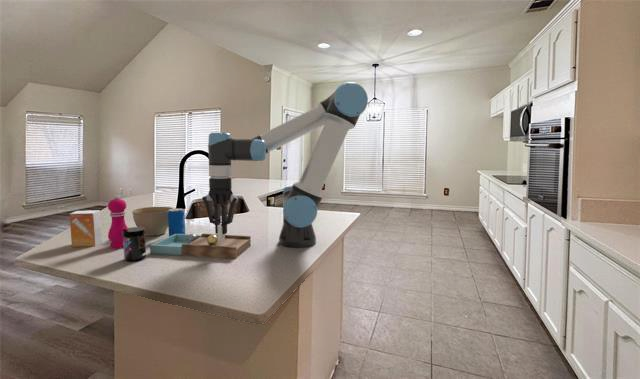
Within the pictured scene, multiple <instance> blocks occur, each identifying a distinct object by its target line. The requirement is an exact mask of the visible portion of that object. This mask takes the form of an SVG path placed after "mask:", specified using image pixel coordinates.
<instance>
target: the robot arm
mask: <svg viewBox="0 0 640 379" xmlns="http://www.w3.org/2000/svg"><path fill="white" fill-rule="evenodd" d="M368 102H369V98H368V93H367V92H366V90H365V88H364V87H363V86H362V85H360V84H359V83H356V82H352V81H348V82H343V83H342V84H340V85H339V86H337V88H336V89H335V91H334V92H333V93H332V94H330V96H328V97H327V98H326V99H323V100H322V101H320V102H318V104H317V106H316V107H314V108H312V109H309V110H308V111H306V112H303V113H302V114H299V115H298V116H295V117H294V118H291V119H290V120H287V121H285V122H283V123H282V124H279V125H277V126H276V127H273V128H271V129H269V130H267V131H265V132H263V133H260V134H259V135H257V136H255V137H253V138H251V139H249V138H243V139H242V138H240V139H239V138H237V139H236V138H232V135H231V133H229V132H210V133H209V134H208V145H207V147H208V148H207V151H208V176H209V177H210V178H209V179H208V187H209V191H208V194H206V195H205V196H202V197H201V198H202V201H203V202H204V204H205V209H206V213H207V216H208V221H209V223H210V224H212V225H214V229H215V230H214V231H215V232H214V234H218V244H222V243H224V242H225V235H227V233H228V225H230V224H231V223H233V220H234V215H235V211H236V207H237V203H238V202H239V200H240V198H239V197H238V196H235V195H234V193H233V191H232V178H231V177H232V161H234V162H235V161H240V162H241V161H244V162H245V161H246V162H263V161H265V160H266V158H267V156H266V155H267V154H269V153H271V152H273V151H275V150H276V149H278V148H281V147H282V146H285V145H286V144H289V143H292V142H293V141H294V140H297V139H299V138H301V137H303V136H305V135H307V134H309V133H311V132H314V131H315V130H317V129H319V128H321V127H323V128H322V130H321V133H320V135H319V136H318V139H317V141H316V143H315V145H314V147H313V150H312V152H311V155H310V157H309V159H308V160H307V163H306V166H305V168H304V169H303V172H302V174H301V177H300V179H299V180H298V181H297V182H294V183H293V184H292V186H285V187H284V188H283V192H282V197H283V198H282V201H283V203H282V206H283V207H282V208H283V209H282V213H283V214H282V215H283V216H282V221H283V223H282V227H281V230H280V234H279V235H278V236H279V237H278V243H279V244H280V245H281V246H284V247H288V248H289V247H290V248H307V247H310V246H314V245H315V244H316V242H317V236H316V233H315V230H314V227H313V223H314V221H315V220H316V218H317V216H318V208H319V206H320V204H321V202H322V199H323V197H324V196H323V193H322V189H323V187H324V185H325V182H326V180H327V178H328V177H329V174H330V172H331V169H332V168H333V164H334V163H335V161H336V158H337V156H338V154H339V152H340V150H341V148H342V145H343V143H344V141H345V139H346V137H347V134H348V132H349V131H350V130H352V129H355V127H356V124H358V121H359V119H360V117H361V115H362V114H363V113H364V112H365V110H366V109H367V107H368ZM229 201H230V205H229V209H228V204H229ZM212 202H213V203H212Z"/></svg>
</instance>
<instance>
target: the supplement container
mask: <svg viewBox="0 0 640 379" xmlns="http://www.w3.org/2000/svg"><path fill="white" fill-rule="evenodd" d="M122 235H123V248H122V249H123V260H124V261H125V262H129V263H132V262H139V261H143V260H144V259H146V258H147V247H146V246H147V243H146V242H147V241H146V236H145V228H144V227H137V226H136V227H135V226H134V227H133V226H132V227H128V228H126V229H123V230H122Z"/></svg>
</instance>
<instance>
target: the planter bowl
mask: <svg viewBox="0 0 640 379" xmlns="http://www.w3.org/2000/svg"><path fill="white" fill-rule="evenodd" d="M169 209H174V208H173V207H171V206H149V207H140V208H136V209H133V210H131V213H132V216H133V217H132V219H133V222H134V223H135V226H136V227H144V228H145V237H147V236H148V237H151V236H154V237H155V236H160V235H164V234H166V233H167V229H169V227H168V212H169Z"/></svg>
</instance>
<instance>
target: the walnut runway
mask: <svg viewBox="0 0 640 379" xmlns="http://www.w3.org/2000/svg"><path fill="white" fill-rule="evenodd" d="M201 235H202V237H200V238H198V239H196V240H194V241H192V242H191V243H189V244H182V256H189V257H203V258H204V257H205V258H220V259H221V258H222V259H235V260H236V259H237V258H238V257H239V256H241V255H242V254H243V253H245V251H246V250H248V249H249V248H250V247H251V246H252V244H251V243H252V242H251V241H252V240H251V235H237V234H236V235H235V234H225V242H224V243H222V244H218V243H217V245H215V246H213V245H209V244H208V243H207V238H208V237H209V236H210V235H216V236H217V237H218V234H216V233H201Z"/></svg>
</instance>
